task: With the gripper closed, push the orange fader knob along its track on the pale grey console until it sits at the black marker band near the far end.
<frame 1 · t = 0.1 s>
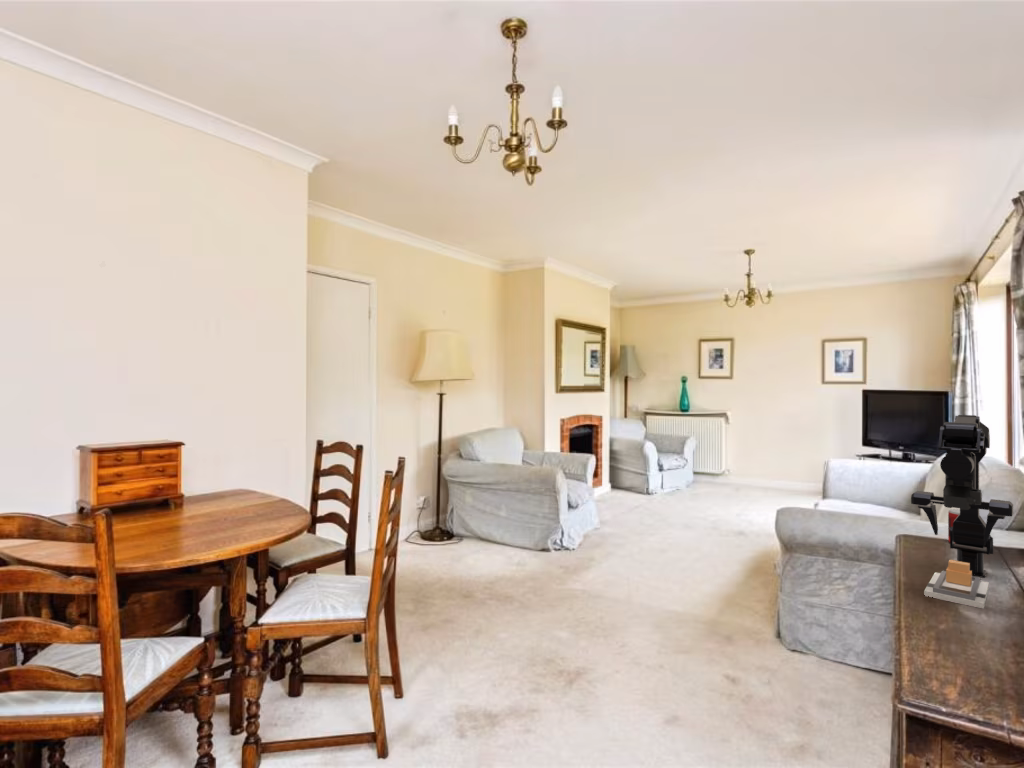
hand: (960, 538, 131), 15 cm above the table, tool pointing down, fingers open, 9 cm apart
fader knob: (959, 572, 139), point 4 cm above the table, slide at 0.0 cm
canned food: (963, 545, 180), on the table
console: (957, 591, 136), on the table
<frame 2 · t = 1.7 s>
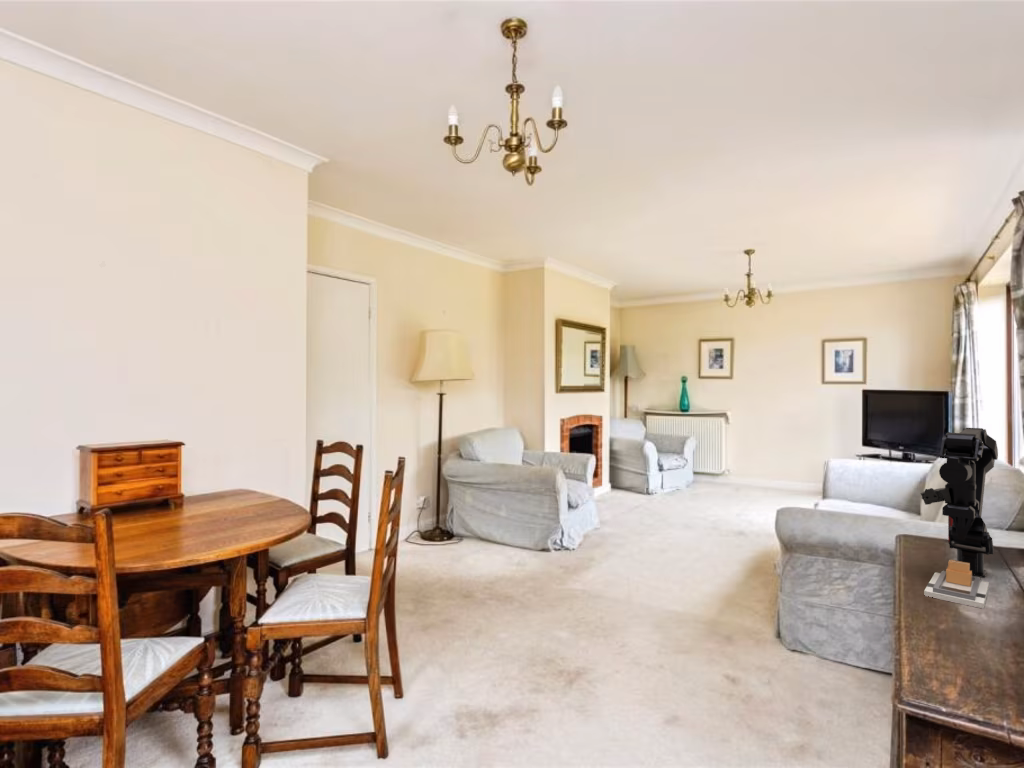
hand: (961, 539, 143), 11 cm above the table, tool pointing down, fingers closed
nothing on the table moved.
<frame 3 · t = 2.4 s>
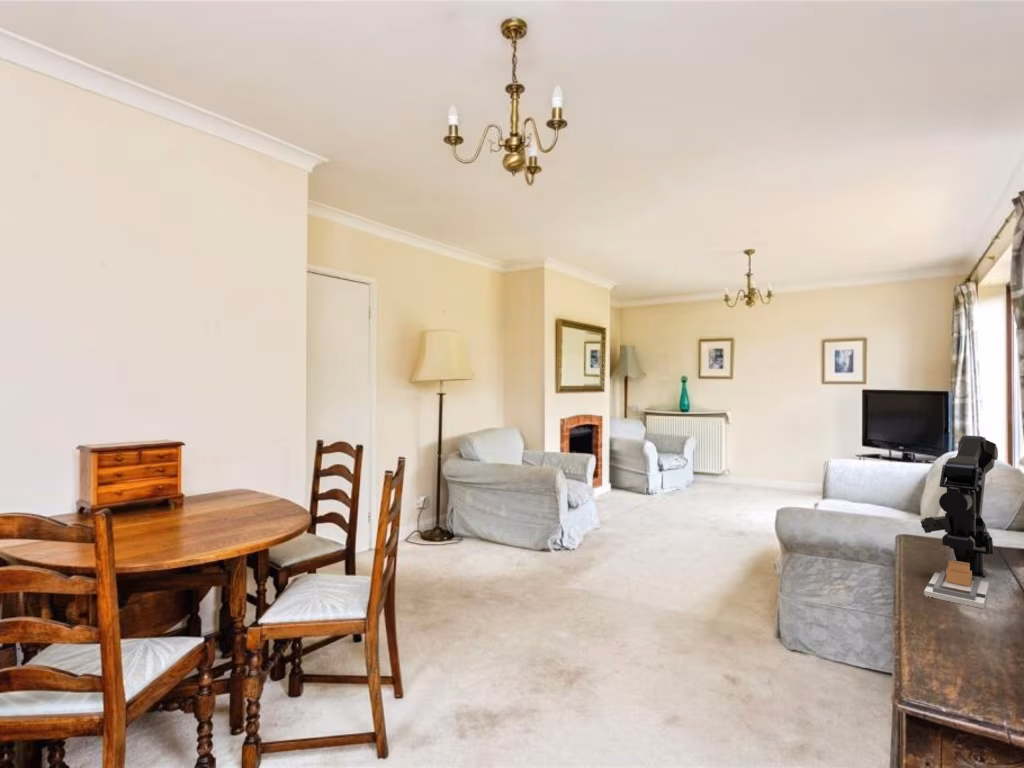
hand: (961, 568, 143), 4 cm above the table, tool pointing down, fingers closed
nothing on the table moved.
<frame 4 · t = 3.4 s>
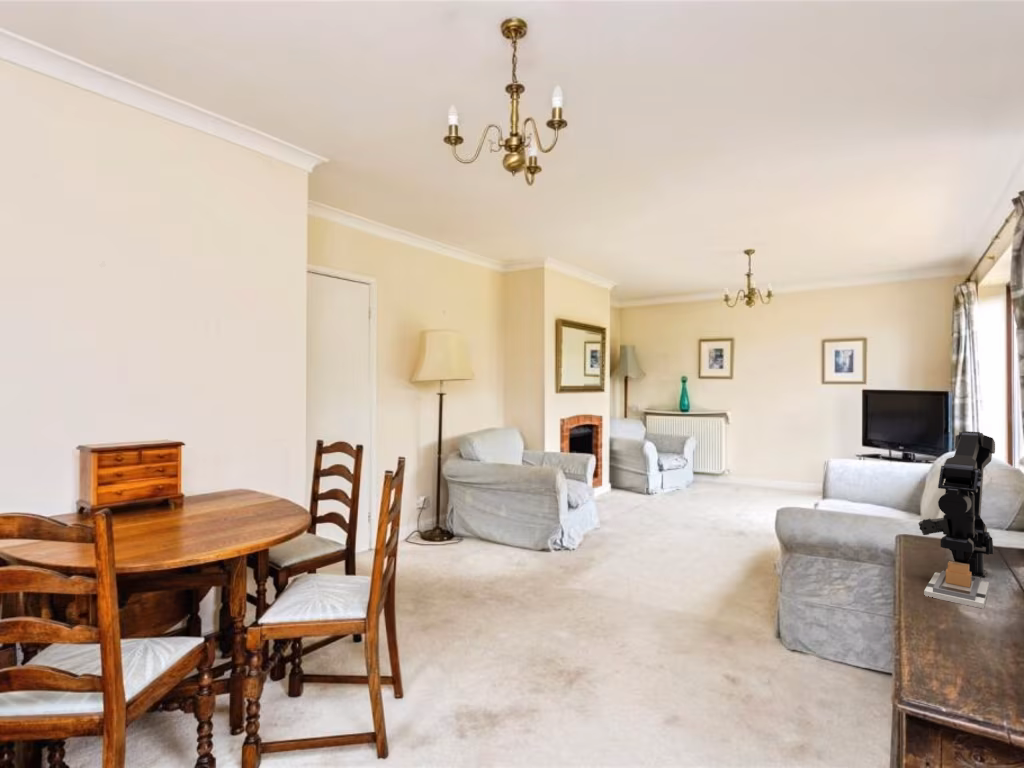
hand: (959, 571, 140), 4 cm above the table, tool pointing down, fingers closed
fader knob: (958, 573, 138), point 4 cm above the table, slide at 1.2 cm, touching gripper
everything else where it was.
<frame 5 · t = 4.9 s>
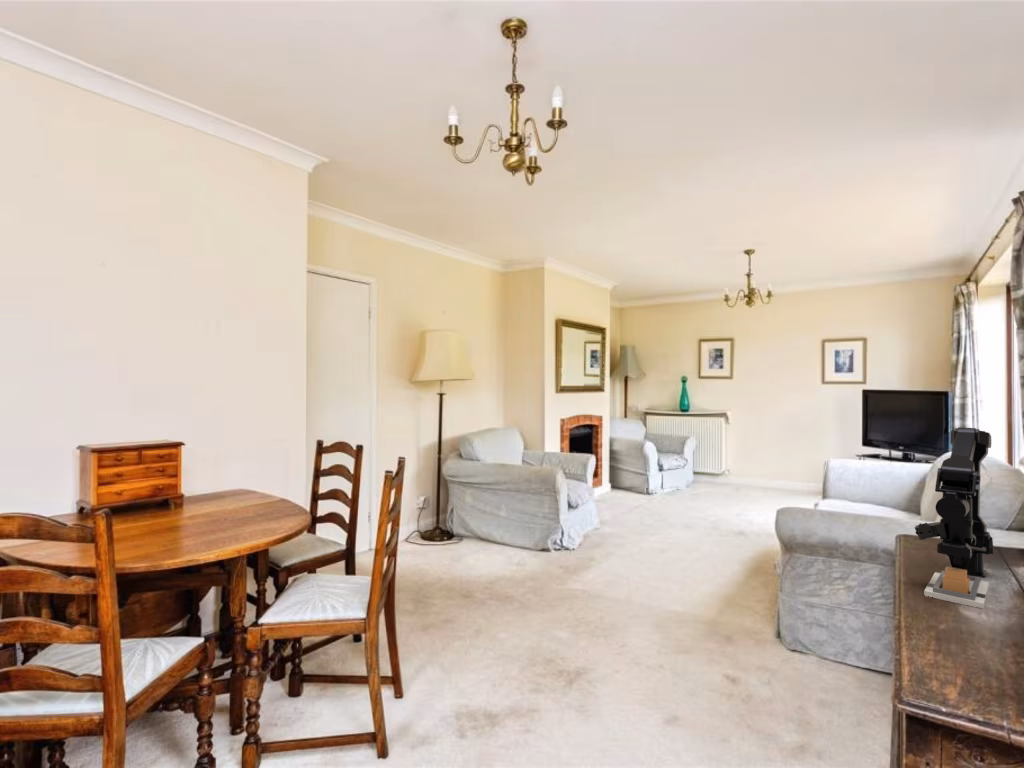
hand: (957, 577, 136), 4 cm above the table, tool pointing down, fingers closed
fader knob: (955, 579, 133), point 4 cm above the table, slide at 7.7 cm, touching gripper
everything else where it was.
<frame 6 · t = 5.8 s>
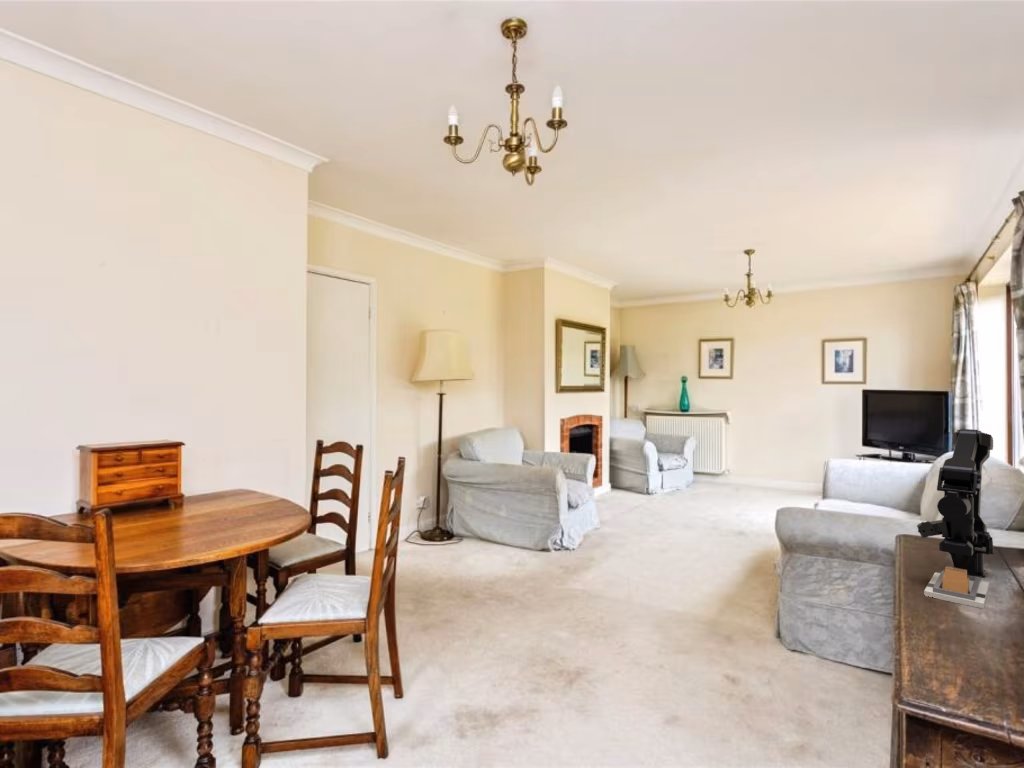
hand: (958, 574, 138), 3 cm above the table, tool pointing down, fingers closed
fader knob: (955, 579, 133), point 4 cm above the table, slide at 7.7 cm
everything else where it was.
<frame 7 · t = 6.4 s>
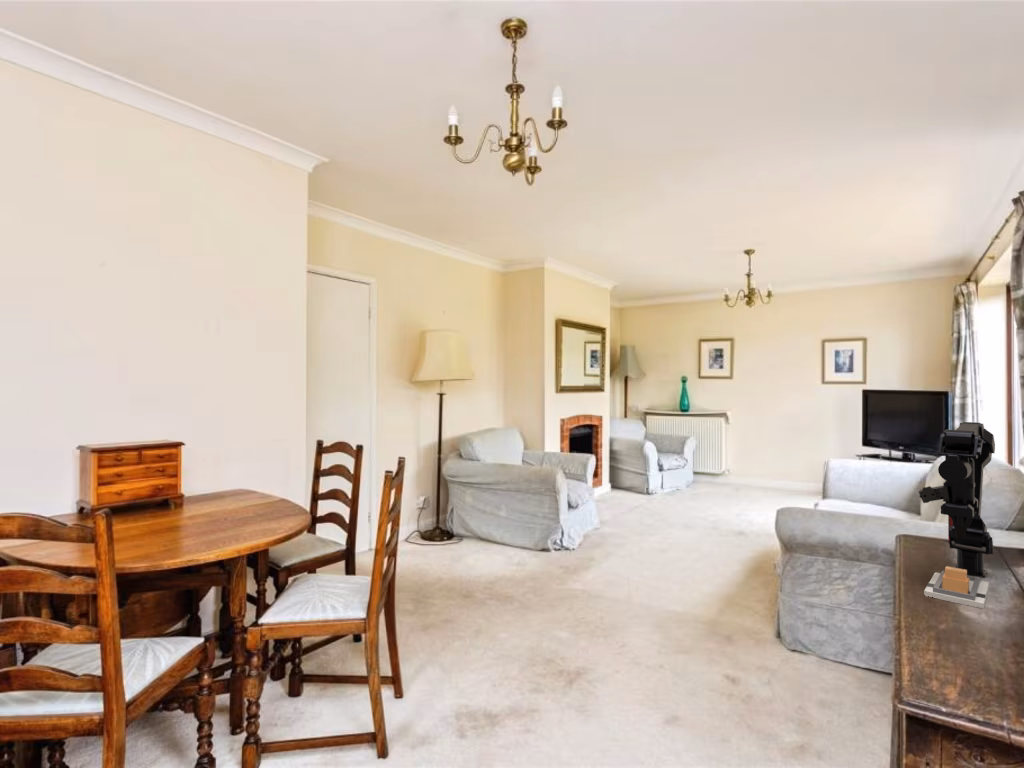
hand: (959, 538, 140), 12 cm above the table, tool pointing down, fingers closed
nothing on the table moved.
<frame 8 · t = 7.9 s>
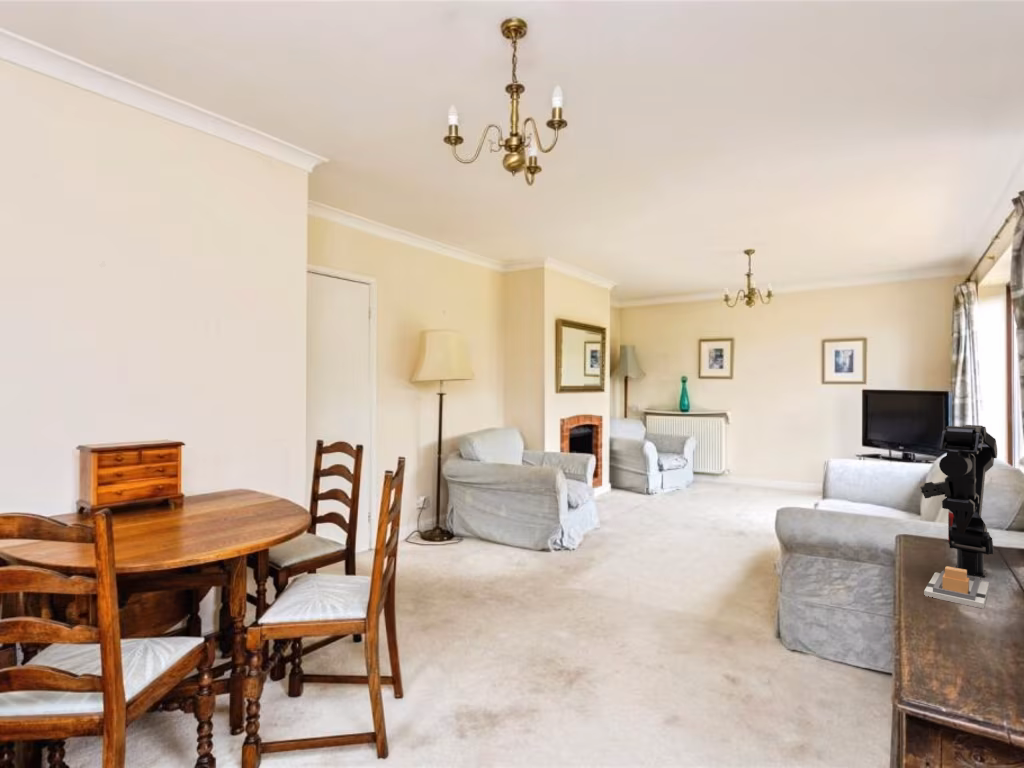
hand: (961, 533, 143), 13 cm above the table, tool pointing down, fingers closed
nothing on the table moved.
at the end: fader knob slide at 7.7 cm; fader knob 0.3 cm from the target spot, resting on console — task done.
